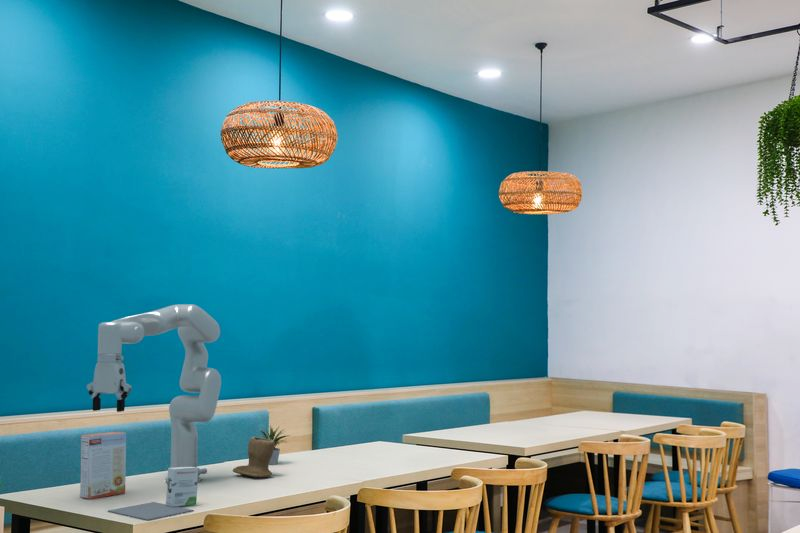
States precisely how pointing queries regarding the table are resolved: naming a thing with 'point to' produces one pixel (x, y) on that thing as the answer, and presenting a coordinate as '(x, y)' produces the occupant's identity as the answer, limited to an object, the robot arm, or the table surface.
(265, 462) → the brown suede boot shape
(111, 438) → the cracker box
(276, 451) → the house plant
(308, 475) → the table surface
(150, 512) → the mat
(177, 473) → the ink box
